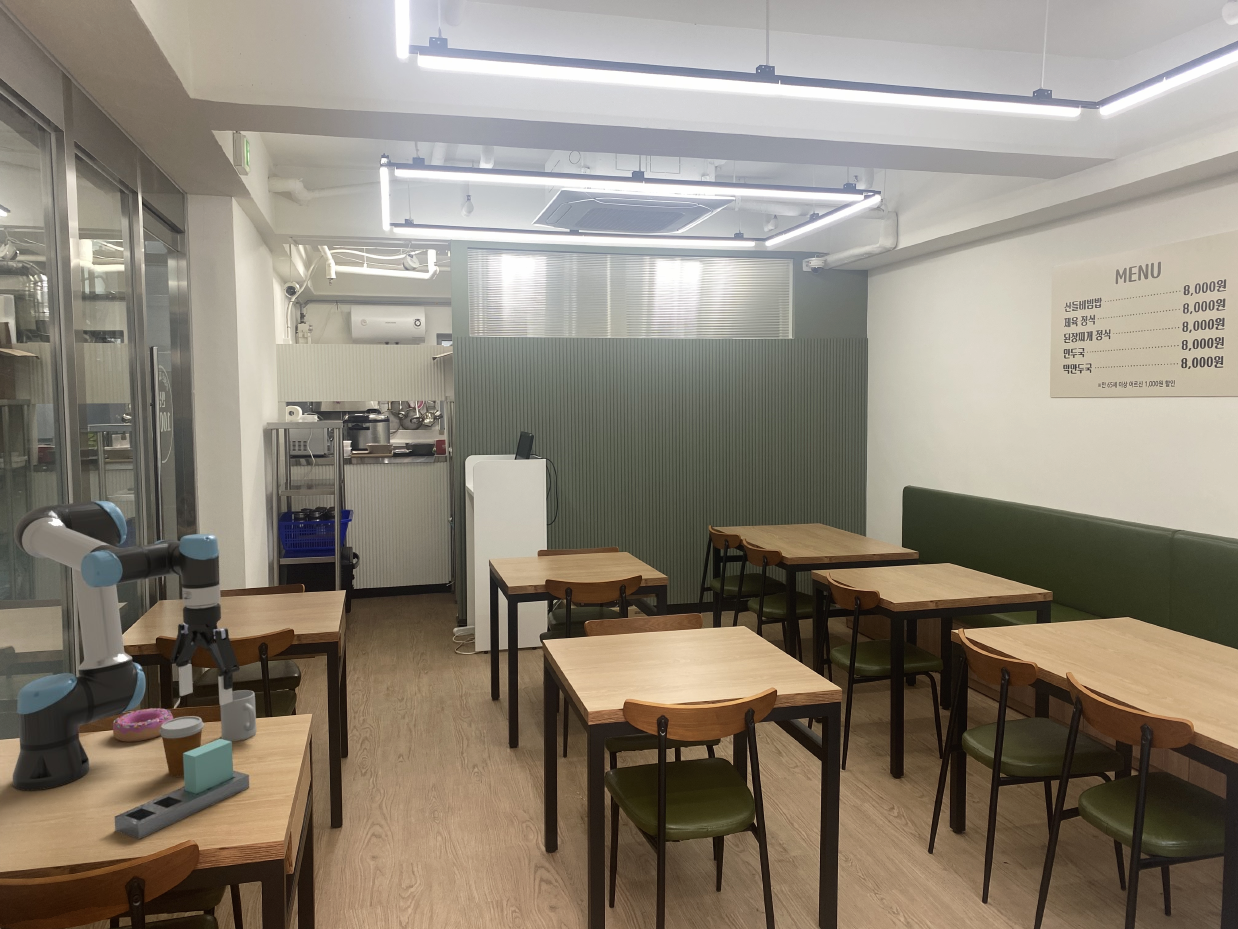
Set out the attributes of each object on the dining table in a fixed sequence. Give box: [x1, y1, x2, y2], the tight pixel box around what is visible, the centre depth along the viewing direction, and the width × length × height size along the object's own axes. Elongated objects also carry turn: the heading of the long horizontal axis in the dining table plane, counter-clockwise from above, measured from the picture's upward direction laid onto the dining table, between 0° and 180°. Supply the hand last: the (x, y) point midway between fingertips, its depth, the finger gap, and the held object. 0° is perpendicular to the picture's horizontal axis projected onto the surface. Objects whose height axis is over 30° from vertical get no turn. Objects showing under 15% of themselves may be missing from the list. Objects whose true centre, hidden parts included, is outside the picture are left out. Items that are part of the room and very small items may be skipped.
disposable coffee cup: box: [159, 715, 205, 778], centre depth 200 cm, size 10×10×12 cm
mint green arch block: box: [183, 738, 234, 794], centre depth 186 cm, size 4×9×11 cm, turn 152°
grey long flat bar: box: [114, 769, 250, 840], centre depth 181 cm, size 8×26×3 cm, turn 152°
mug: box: [219, 689, 257, 742], centre depth 221 cm, size 12×8×11 cm
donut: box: [112, 707, 174, 743], centre depth 225 cm, size 14×14×5 cm
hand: (205, 698), depth 185 cm, fingers open, 13 cm apart
